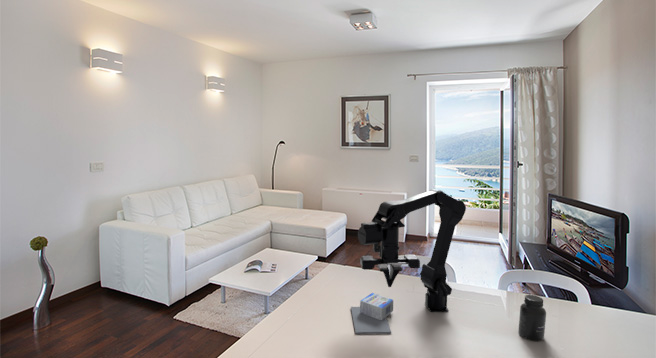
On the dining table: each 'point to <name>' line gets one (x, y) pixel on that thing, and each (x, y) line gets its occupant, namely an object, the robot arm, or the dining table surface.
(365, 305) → the medicine box
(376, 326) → the mat
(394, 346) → the dining table surface
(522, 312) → the supplement bottle
